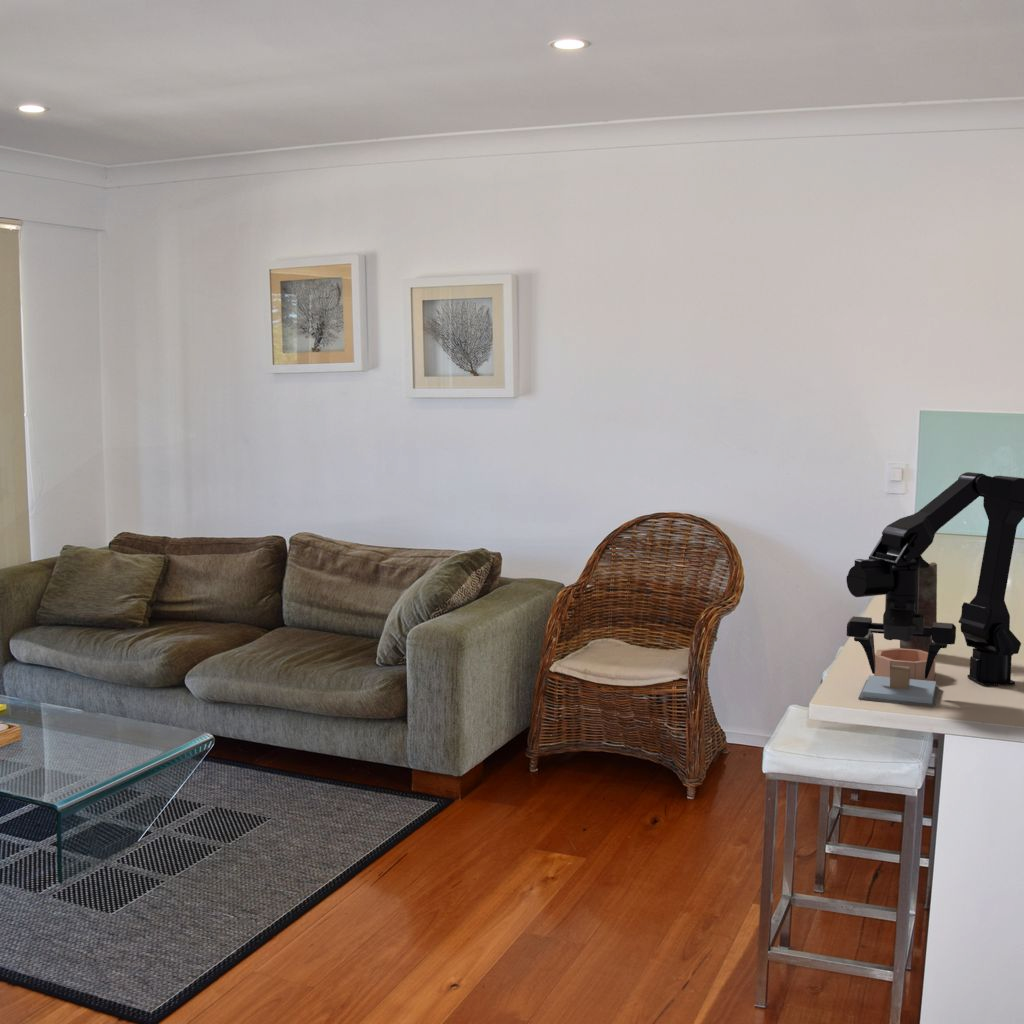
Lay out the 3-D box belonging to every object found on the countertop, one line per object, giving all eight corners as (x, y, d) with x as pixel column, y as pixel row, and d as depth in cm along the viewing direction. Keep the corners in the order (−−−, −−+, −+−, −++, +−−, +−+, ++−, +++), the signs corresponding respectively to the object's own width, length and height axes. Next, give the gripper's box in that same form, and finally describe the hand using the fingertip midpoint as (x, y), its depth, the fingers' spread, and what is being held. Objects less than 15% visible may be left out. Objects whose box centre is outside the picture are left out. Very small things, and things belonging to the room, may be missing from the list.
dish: (878, 665, 226) (878, 646, 226) (936, 670, 222) (936, 651, 221) (872, 679, 216) (873, 659, 216) (932, 684, 212) (933, 664, 211)
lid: (869, 680, 214) (869, 657, 214) (935, 686, 209) (936, 663, 209) (862, 696, 203) (862, 672, 203) (932, 703, 198) (932, 679, 198)
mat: (866, 681, 215) (866, 679, 215) (938, 688, 210) (938, 686, 210) (858, 699, 203) (858, 697, 203) (934, 707, 198) (934, 704, 198)
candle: (891, 652, 237) (893, 559, 235) (919, 648, 240) (921, 557, 237) (915, 660, 230) (918, 565, 228) (944, 656, 233) (947, 562, 230)
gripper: (843, 597, 201) (841, 681, 202) (954, 604, 193) (951, 692, 195) (851, 586, 211) (849, 667, 213) (957, 593, 203) (954, 676, 205)
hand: (899, 675), depth 206 cm, fingers open, 9 cm apart
